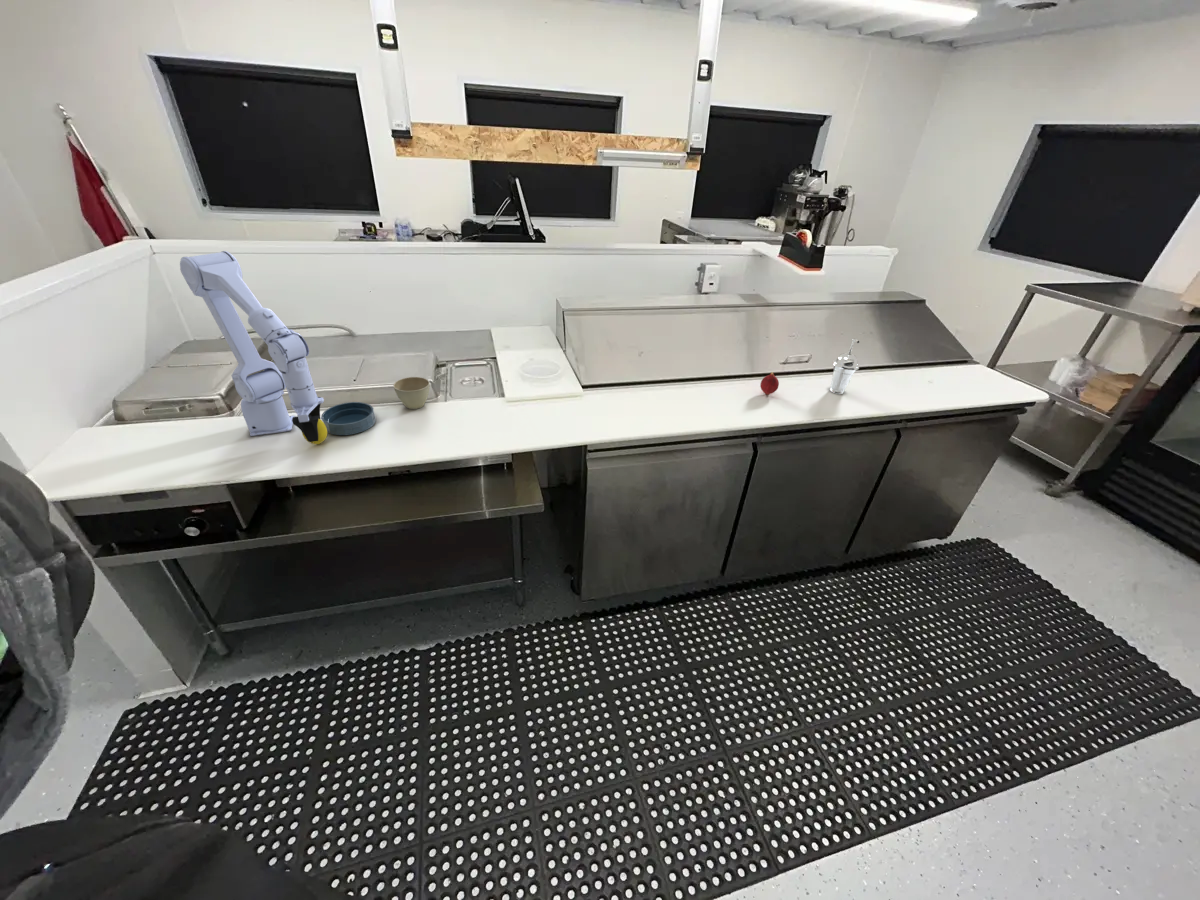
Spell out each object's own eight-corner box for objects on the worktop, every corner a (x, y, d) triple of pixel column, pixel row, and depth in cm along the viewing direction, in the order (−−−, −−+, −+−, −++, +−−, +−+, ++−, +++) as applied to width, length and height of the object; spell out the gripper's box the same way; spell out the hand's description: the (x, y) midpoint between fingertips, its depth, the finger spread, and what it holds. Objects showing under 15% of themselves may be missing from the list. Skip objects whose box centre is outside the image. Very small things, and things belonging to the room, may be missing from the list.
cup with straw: (852, 391, 170) (873, 336, 159) (844, 399, 164) (864, 342, 153) (828, 383, 174) (846, 329, 164) (819, 391, 169) (837, 335, 158)
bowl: (323, 439, 128) (319, 428, 126) (326, 416, 138) (322, 405, 136) (376, 432, 132) (373, 420, 130) (375, 410, 142) (373, 399, 140)
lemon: (335, 442, 127) (327, 415, 123) (316, 452, 123) (308, 424, 118) (320, 436, 129) (312, 410, 124) (301, 446, 125) (292, 419, 120)
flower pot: (422, 415, 141) (418, 393, 137) (390, 410, 142) (386, 388, 138) (438, 400, 149) (435, 378, 145) (408, 395, 151) (404, 374, 147)
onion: (777, 398, 162) (784, 376, 158) (760, 398, 162) (766, 376, 157) (772, 391, 167) (778, 369, 162) (756, 390, 167) (761, 368, 162)
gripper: (316, 395, 112) (330, 445, 120) (320, 371, 123) (333, 417, 131) (281, 399, 110) (298, 449, 117) (288, 374, 121) (304, 421, 128)
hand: (314, 433), depth 124 cm, fingers open, 7 cm apart
